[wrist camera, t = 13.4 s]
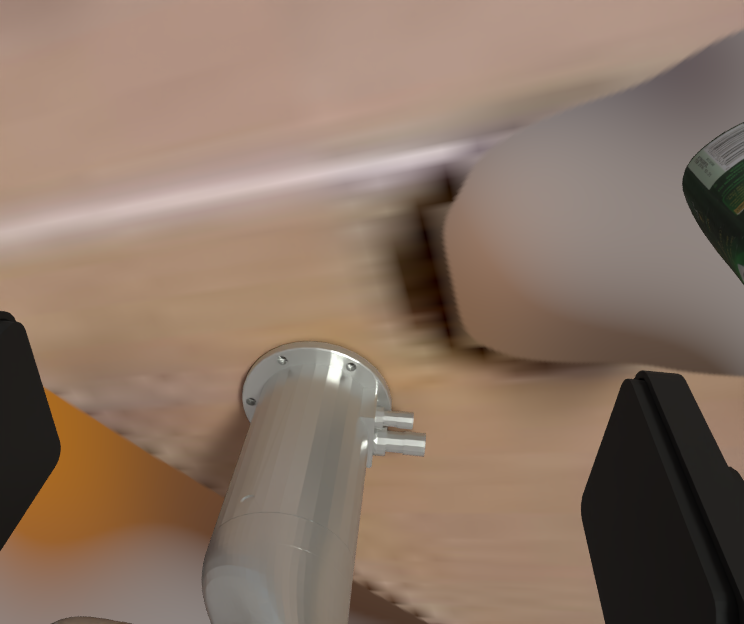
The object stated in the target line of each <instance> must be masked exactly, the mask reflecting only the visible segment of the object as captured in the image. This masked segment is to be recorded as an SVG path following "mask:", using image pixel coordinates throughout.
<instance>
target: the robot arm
mask: <svg viewBox="0 0 744 624" xmlns="http://www.w3.org/2000/svg"><path fill="white" fill-rule="evenodd" d="M242 402H243V408H244V411H245V413H246V416H247V419H248V420H249V422H250V423H251V424H250V426H249V429H248V432H247V435H246V438H245V441H244V444H243V447H242V450H241V453H240V456H239V458H238V461H237V464H236V467H235V470H234V473H233V476H232V479H231V482H230V485H229V488H228V491H227V493H226V496H225V499H224V502H223V505H222V508H221V511H220V514H219V517H218V520H217V523H216V526H215V528H214V532H213V535H212V537H211V540H210V544H209V546H208V549H207V552H206V555H205V559H204V563H203V570H202V592H203V598H204V602H205V606H206V610H207V613H208V616H209V619H210V621H211V624H348V616H349V605H350V596H351V588H352V579H353V571H354V563H355V555H356V547H357V539H358V530H359V522H360V514H361V506H362V497H363V489H364V481H365V473H366V467H368V468H370V467H371V466H372V457H373V455H375V456H376V455H377V456H385V451H386V452H396V453H403V455H412V456H422V457H424V452H425V442H426V433H419V432H409V431H404V432H396V431H387V428H388V426H391V427H397V428H403V429H412V427H413V416H414V413H413V412H403V411H398V412H395V411H392V399H391V394H390V390H389V387H388V385H387V383H386V381H385V379H384V378H383V376H382V375H381V374H380V372H379V371H378V370H377V369H376V368H375V367H374V366H373V365H372V364H371V363H370V362H369V361H367V360H366V359H365V358H363V357H361V356H360V355H358V354H357V353H355V352H353V351H351V350H348V349H346V348H343V347H341V346H337V345H333V344H329V343H325V342H314V341H306V342H294V343H290V344H286V345H282V346H279V347H277V348H275V349H272V350H270V351H269V352H267V353H266V354H264V355H263V356H262V357H260V358H259V359H258V360H257V361H256V363H255V364H254V365H253V366H252V367H251V369H250V371H249V373H248V375H247V377H246V380H245V383H244V386H243V392H242ZM60 450H61V446H60V440H59V437H58V434H57V431H56V427H55V424H54V421H53V418H52V414H51V411H50V408H49V405H48V401H47V398H46V395H45V392H44V388H43V385H42V382H41V379H40V375H39V372H38V369H37V366H36V362H35V359H34V356H33V353H32V349H31V346H30V343H29V340H28V336H27V333H26V330H25V328H24V326H23V325H22V324H21V323H19V322H16V320H15V318H14V317H13V316H12V315H11V314H10V313H8V312H5V311H0V551H1V549H2V548H3V546H4V545H5V543H6V542H7V540H8V538H9V537H10V535H11V534H12V532H13V531H14V529H15V528H16V526H17V525H18V523H19V522H20V520H21V518H22V517H23V515H24V514H25V512H26V510H27V509H28V508H29V506H30V505H31V503H32V501H33V500H34V499H35V496H36V495H37V494H38V492H39V491H40V489H41V488H42V486H43V485H44V483H45V481H46V480H47V478H48V477H49V475H50V474H51V472H52V471H53V469H54V468H55V466H56V464H57V462H58V460H59V456H60ZM581 516H582V522H583V527H584V531H585V535H586V540H587V544H588V549H589V553H590V558H591V562H592V567H593V571H594V575H595V580H596V584H597V589H598V593H599V598H600V602H601V607H602V611H603V615H604V620H605V624H744V480H743V479H742V477H741V476H740V474H739V473H738V472H737V471H736V470H734V469H733V468H732V467H728V465H727V463H726V461H725V459H724V457H723V455H722V453H721V451H720V449H719V447H718V445H717V443H716V441H715V439H714V437H713V435H712V433H711V431H710V429H709V427H708V425H707V423H706V421H705V419H704V417H703V415H702V413H701V411H700V409H699V407H698V405H697V403H696V401H695V399H694V396H693V394H692V392H691V390H690V388H689V386H688V384H687V382H686V380H685V379H684V377H683V376H682V375H680V374H675V373H664V372H653V371H639V372H638V373H637V374H636V376H635V378H634V379H625V380H624V381H623V383H622V385H621V388H620V391H619V394H618V396H617V399H616V402H615V405H614V408H613V411H612V413H611V416H610V419H609V422H608V425H607V428H606V430H605V433H604V436H603V439H602V442H601V445H600V447H599V450H598V453H597V456H596V459H595V462H594V465H593V467H592V470H591V473H590V476H589V479H588V482H587V484H586V487H585V490H584V493H583V496H582V502H581ZM52 624H131V623H126V622H118V621H113V620H109V619H102V618H94V617H69V618H65V619H61V620H58V621H56V622H54V623H52Z"/></svg>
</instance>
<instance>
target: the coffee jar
mask: <svg viewBox="0 0 744 624" xmlns="http://www.w3.org/2000/svg"><path fill="white" fill-rule="evenodd" d="M682 185H683V192H684V195H685V198H686V201H687V203H688V205H689V208H690V210H691V212H692V214H693V216H694V218H695V219H696V221H697V223H698V225H699V227H700V228H701V230H702V231H703V233H704V234H705V236H706V237H707V238H708V240H709V241H710V243H711V244H712V245H713V247H714V248H715V249H716V251H717V252H718V253H719V254H720V256H721V257H722V258H723V259H724V260H725V262H726V263H727V264H728V265H729V266H730V268H731V269H732V270H733V272H734V273H735V274H736V275H737V277H738V278H739V279H740V281H741V282H742V283H743V284H744V122H743V123H741V124H739V125H737V126H735V127H733V128H731V129H730V130H728V131H726V132H724V133H722V134H721V135H719V136H718V137H716V138H715V139H714V140H712V141H711V142H710V143H708V144H707V145H706V146H704V147H703V148H702V149H701V150H700V151H699V152H698V153H697V154H696V155H695V156H694V157H693V158H692V159H691V161H690V162H689V164H688V165H687V167H686V169H685V172H684V176H683V183H682Z"/></svg>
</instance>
